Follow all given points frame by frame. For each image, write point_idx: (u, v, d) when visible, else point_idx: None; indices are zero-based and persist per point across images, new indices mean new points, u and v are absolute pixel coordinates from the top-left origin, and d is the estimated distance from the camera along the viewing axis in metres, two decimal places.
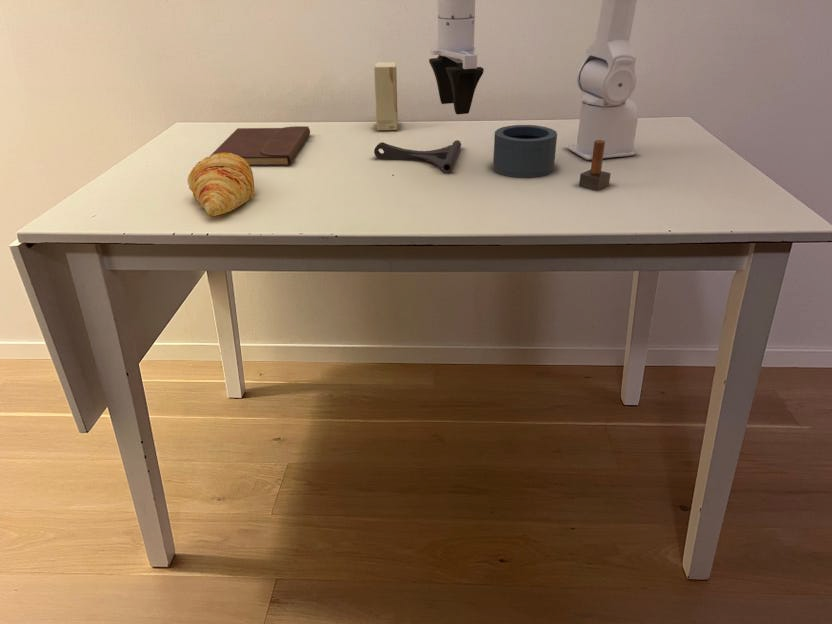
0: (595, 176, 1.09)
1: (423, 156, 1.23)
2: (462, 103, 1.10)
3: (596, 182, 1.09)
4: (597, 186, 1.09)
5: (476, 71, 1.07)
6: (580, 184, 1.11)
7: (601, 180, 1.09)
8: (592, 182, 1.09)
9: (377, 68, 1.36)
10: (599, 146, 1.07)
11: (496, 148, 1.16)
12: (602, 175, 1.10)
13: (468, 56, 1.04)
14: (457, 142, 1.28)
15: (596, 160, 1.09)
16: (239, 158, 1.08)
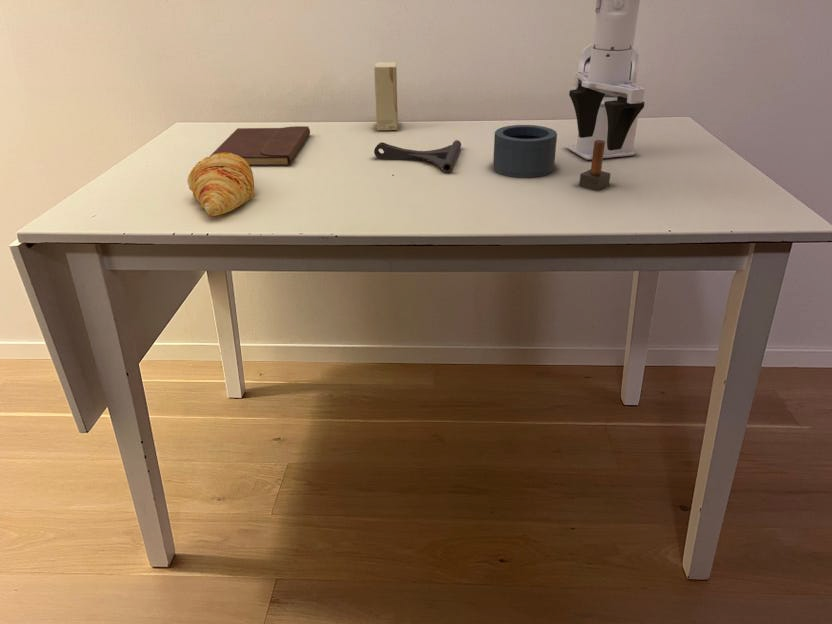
0: (595, 176, 1.09)
1: (423, 156, 1.23)
2: (617, 138, 1.03)
3: (596, 182, 1.09)
4: (597, 186, 1.09)
5: (638, 105, 1.00)
6: (580, 184, 1.11)
7: (601, 180, 1.09)
8: (592, 182, 1.09)
9: (377, 68, 1.36)
10: (599, 146, 1.07)
11: (496, 148, 1.16)
12: (602, 175, 1.10)
13: (636, 90, 0.97)
14: (457, 142, 1.28)
15: (596, 160, 1.09)
16: (239, 158, 1.08)
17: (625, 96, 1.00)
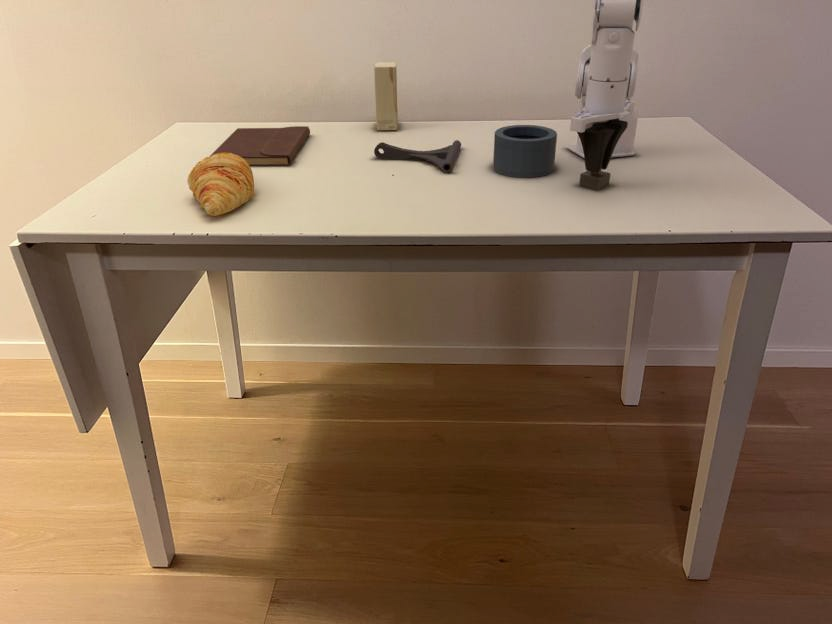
0: (595, 176, 1.09)
1: (423, 156, 1.23)
2: None
3: (596, 182, 1.09)
4: (597, 186, 1.09)
5: None
6: (580, 184, 1.11)
7: (601, 180, 1.09)
8: (592, 182, 1.09)
9: (377, 68, 1.36)
10: None
11: (496, 148, 1.16)
12: (602, 175, 1.10)
13: (631, 102, 1.09)
14: (457, 142, 1.28)
15: None
16: (239, 158, 1.08)
17: None
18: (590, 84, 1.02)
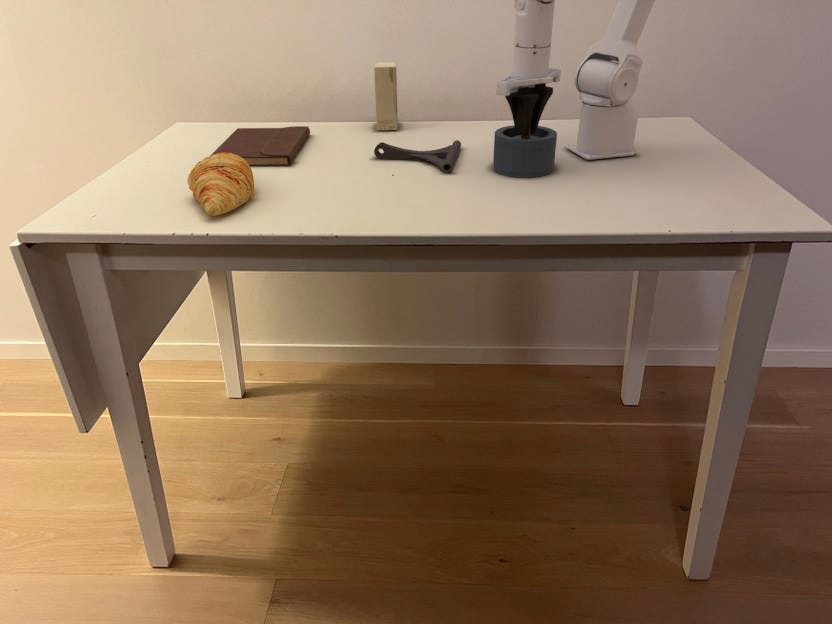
0: None
1: (423, 156, 1.23)
2: None
3: None
4: None
5: None
6: None
7: None
8: None
9: (377, 68, 1.36)
10: None
11: (496, 148, 1.16)
12: (531, 138, 1.16)
13: (558, 69, 1.16)
14: (457, 142, 1.28)
15: None
16: (239, 158, 1.08)
17: None
18: (515, 51, 1.09)
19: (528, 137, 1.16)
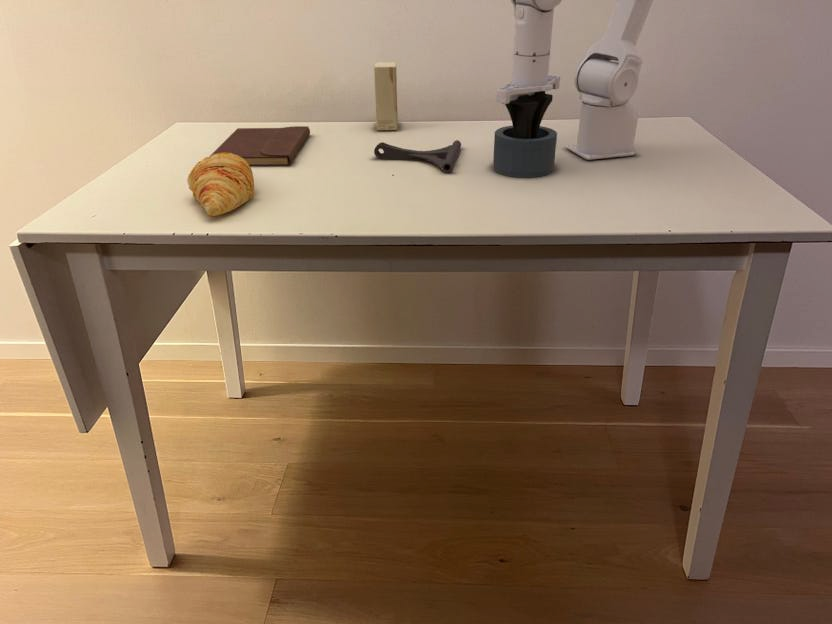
0: None
1: (423, 156, 1.23)
2: None
3: None
4: None
5: None
6: None
7: None
8: None
9: (377, 68, 1.36)
10: None
11: (496, 148, 1.16)
12: None
13: None
14: (457, 142, 1.28)
15: None
16: (239, 158, 1.08)
17: None
18: (515, 59, 1.10)
19: None
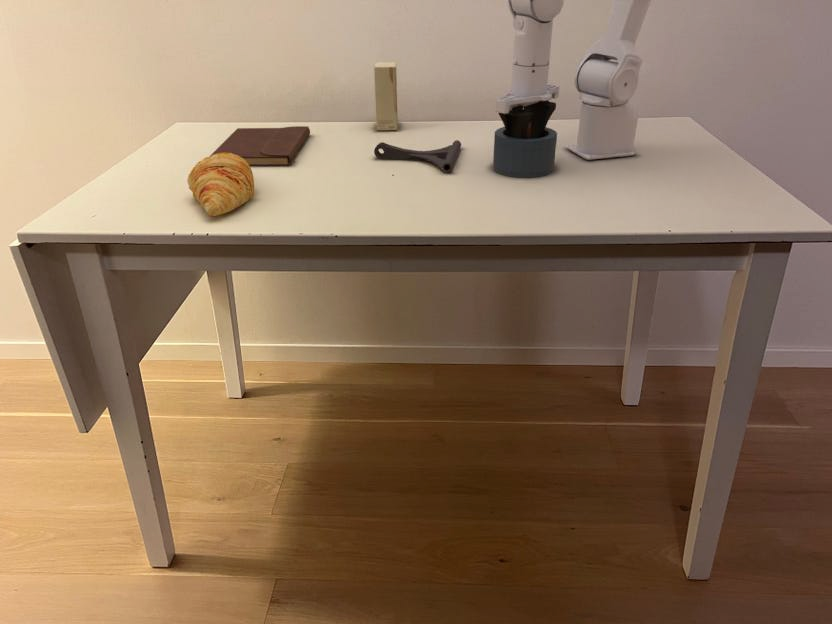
0: None
1: (423, 156, 1.23)
2: None
3: None
4: None
5: None
6: None
7: None
8: None
9: (377, 68, 1.36)
10: None
11: (496, 148, 1.16)
12: None
13: (556, 86, 1.17)
14: (457, 142, 1.28)
15: None
16: (239, 158, 1.08)
17: None
18: (514, 69, 1.10)
19: None
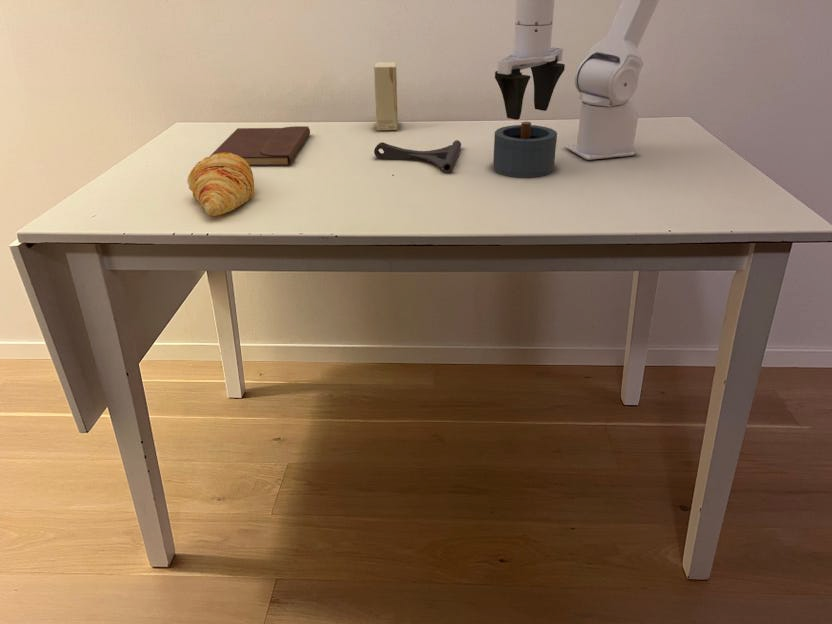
0: None
1: (423, 156, 1.23)
2: None
3: None
4: None
5: None
6: None
7: None
8: None
9: (377, 68, 1.36)
10: (525, 127, 1.15)
11: (496, 148, 1.16)
12: None
13: None
14: (457, 142, 1.28)
15: None
16: (239, 158, 1.08)
17: None
18: (516, 29, 1.08)
19: None
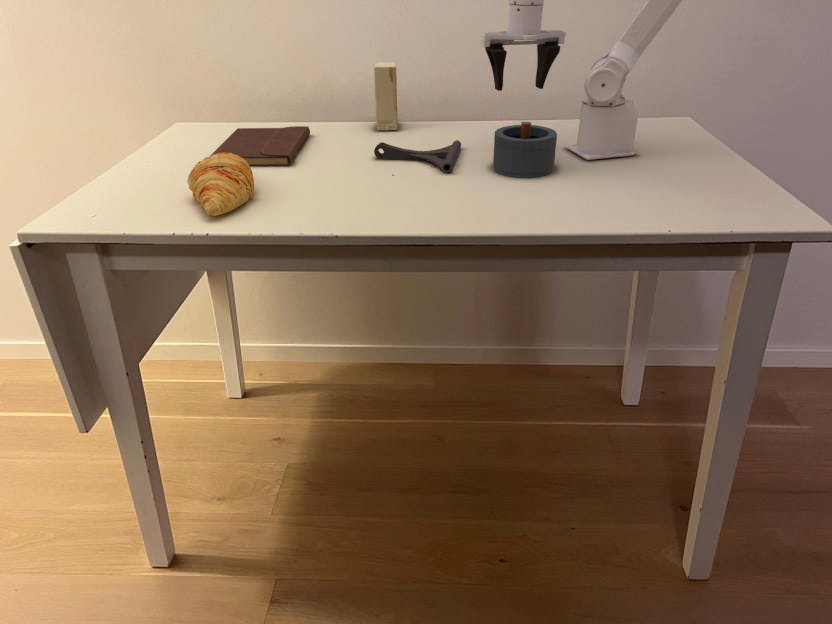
0: None
1: (423, 156, 1.23)
2: None
3: None
4: None
5: None
6: None
7: None
8: None
9: (377, 68, 1.36)
10: (525, 127, 1.15)
11: (496, 148, 1.16)
12: None
13: (564, 32, 1.21)
14: (457, 142, 1.28)
15: None
16: (239, 158, 1.08)
17: (550, 40, 1.21)
18: None
19: None
